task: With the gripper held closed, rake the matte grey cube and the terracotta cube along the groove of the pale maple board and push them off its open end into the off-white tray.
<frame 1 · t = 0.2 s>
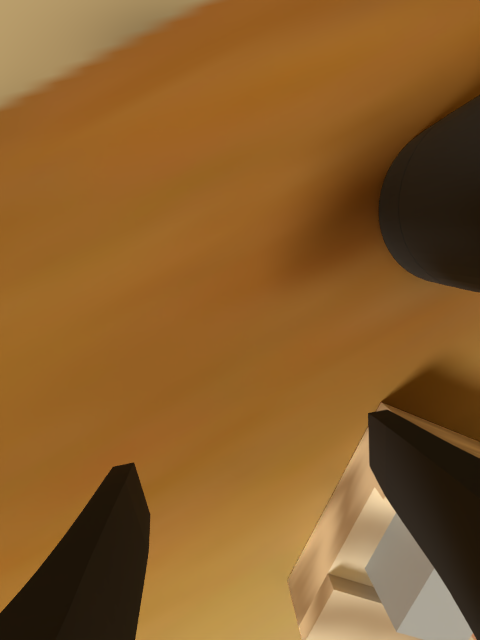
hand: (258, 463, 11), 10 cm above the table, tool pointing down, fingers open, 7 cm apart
grooved board: (432, 529, 24), on the table
pen holder: (445, 206, 20), on the table
matte grey cube: (408, 550, 21), point 3 cm above the table, touching grooved board
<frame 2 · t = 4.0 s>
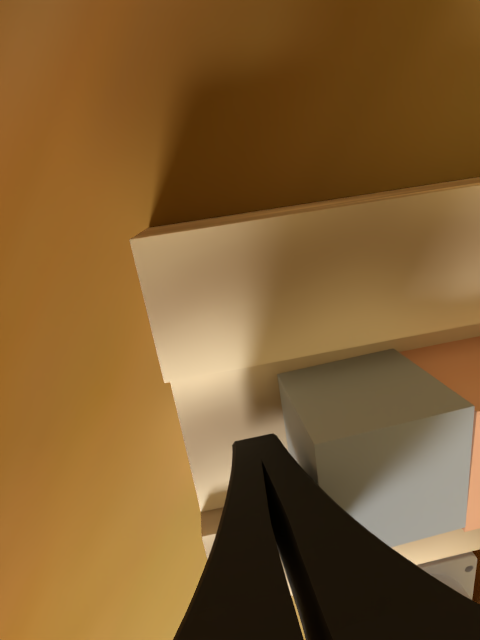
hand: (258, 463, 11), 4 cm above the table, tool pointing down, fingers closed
grooved board: (368, 363, 15), on the table
matte grey cube: (340, 412, 12), point 3 cm above the table, touching gripper, terracotta cube
terracotta cube: (448, 392, 13), point 3 cm above the table, touching grooved board, matte grey cube
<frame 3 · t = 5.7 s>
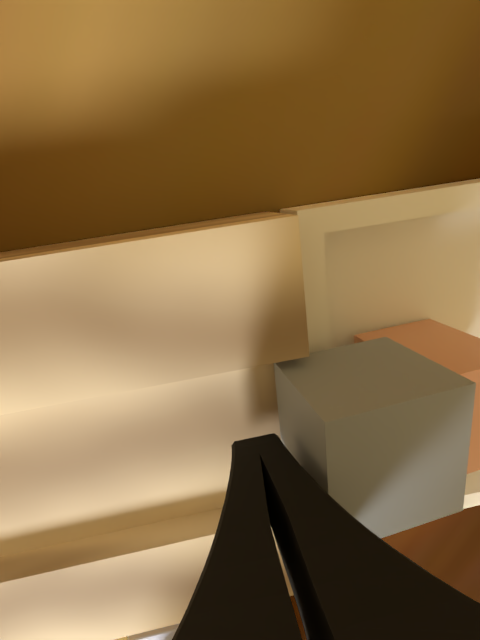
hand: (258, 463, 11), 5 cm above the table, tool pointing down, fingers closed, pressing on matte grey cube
grooved board: (95, 417, 14), on the table
tray: (437, 350, 16), on the table
matte grey cube: (333, 401, 12), point 3 cm above the table, tilted 6°, touching gripper
terracotta cube: (385, 404, 13), point 3 cm above the table, tilted 97°
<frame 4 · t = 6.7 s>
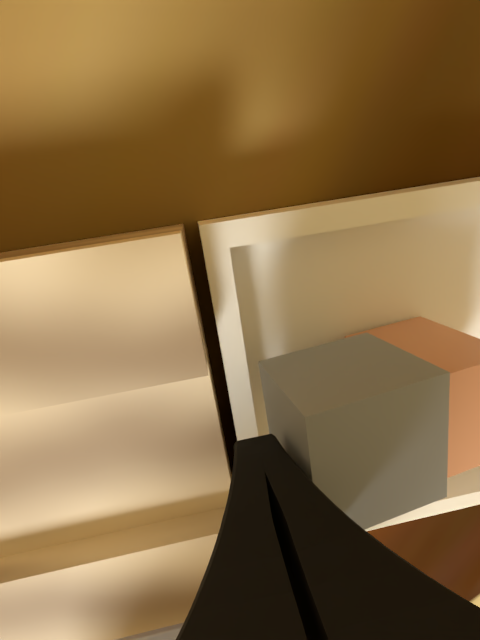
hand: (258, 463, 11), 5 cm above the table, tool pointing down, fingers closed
grooved board: (20, 432, 14), on the table
tray: (373, 362, 15), on the table
matte grey cube: (319, 398, 12), point 3 cm above the table, tilted 8°, touching gripper, terracotta cube
terracotta cube: (377, 405, 12), point 3 cm above the table, tilted 98°, touching matte grey cube, tray
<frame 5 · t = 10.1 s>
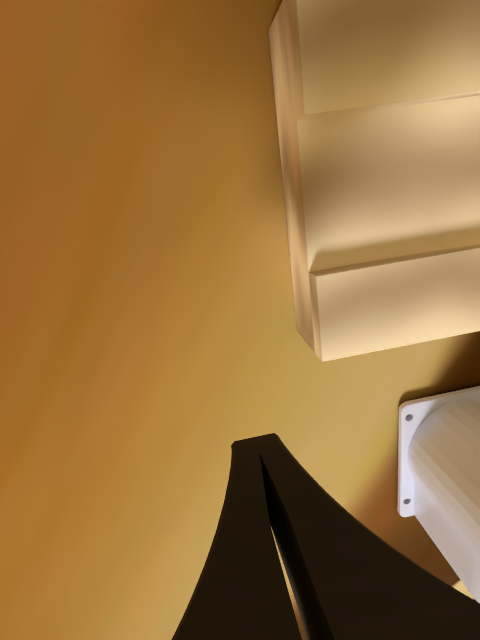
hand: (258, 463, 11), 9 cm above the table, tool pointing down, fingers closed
grooved board: (435, 177, 18), on the table
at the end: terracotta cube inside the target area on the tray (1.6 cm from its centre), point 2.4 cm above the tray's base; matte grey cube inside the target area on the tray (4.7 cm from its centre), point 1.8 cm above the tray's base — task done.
